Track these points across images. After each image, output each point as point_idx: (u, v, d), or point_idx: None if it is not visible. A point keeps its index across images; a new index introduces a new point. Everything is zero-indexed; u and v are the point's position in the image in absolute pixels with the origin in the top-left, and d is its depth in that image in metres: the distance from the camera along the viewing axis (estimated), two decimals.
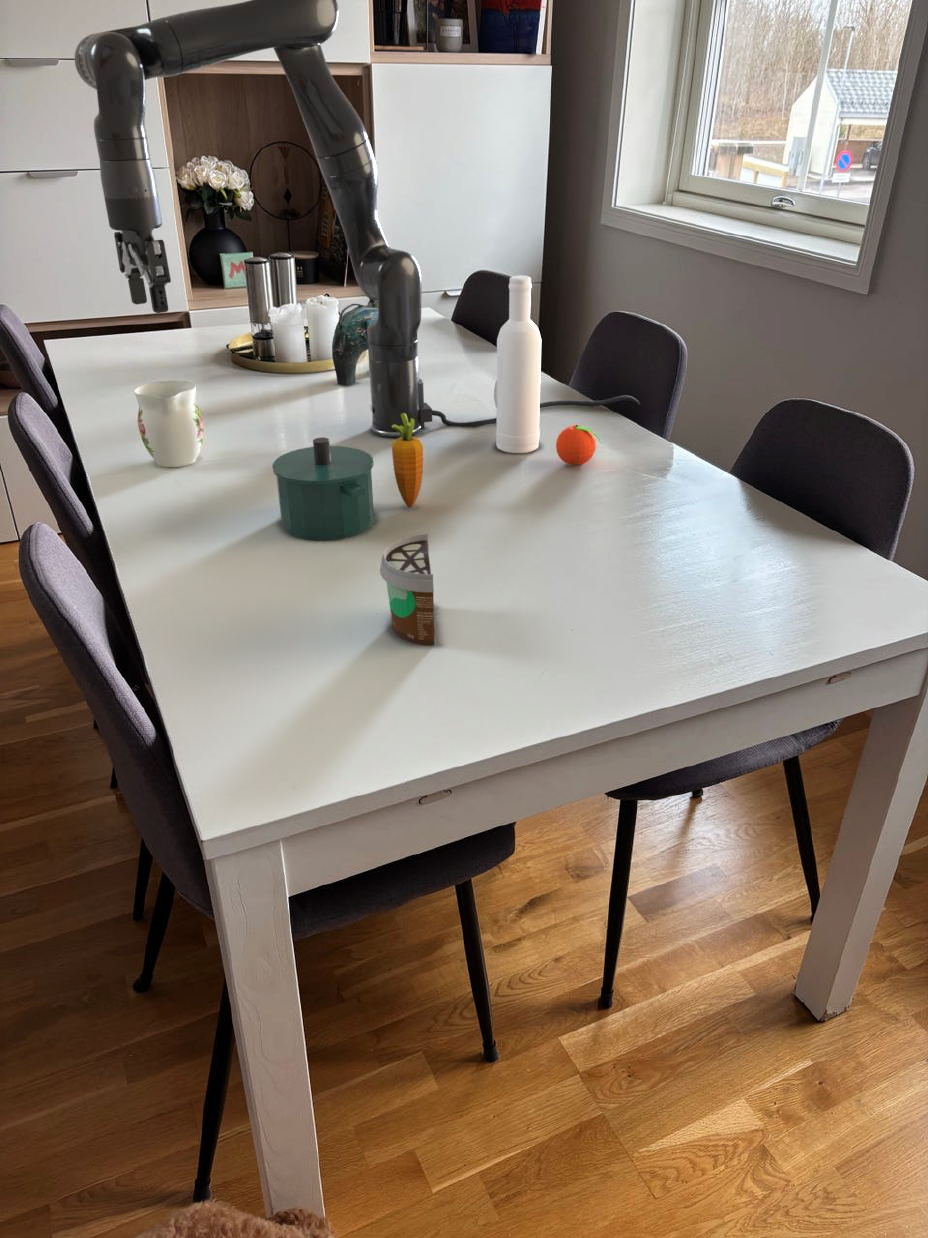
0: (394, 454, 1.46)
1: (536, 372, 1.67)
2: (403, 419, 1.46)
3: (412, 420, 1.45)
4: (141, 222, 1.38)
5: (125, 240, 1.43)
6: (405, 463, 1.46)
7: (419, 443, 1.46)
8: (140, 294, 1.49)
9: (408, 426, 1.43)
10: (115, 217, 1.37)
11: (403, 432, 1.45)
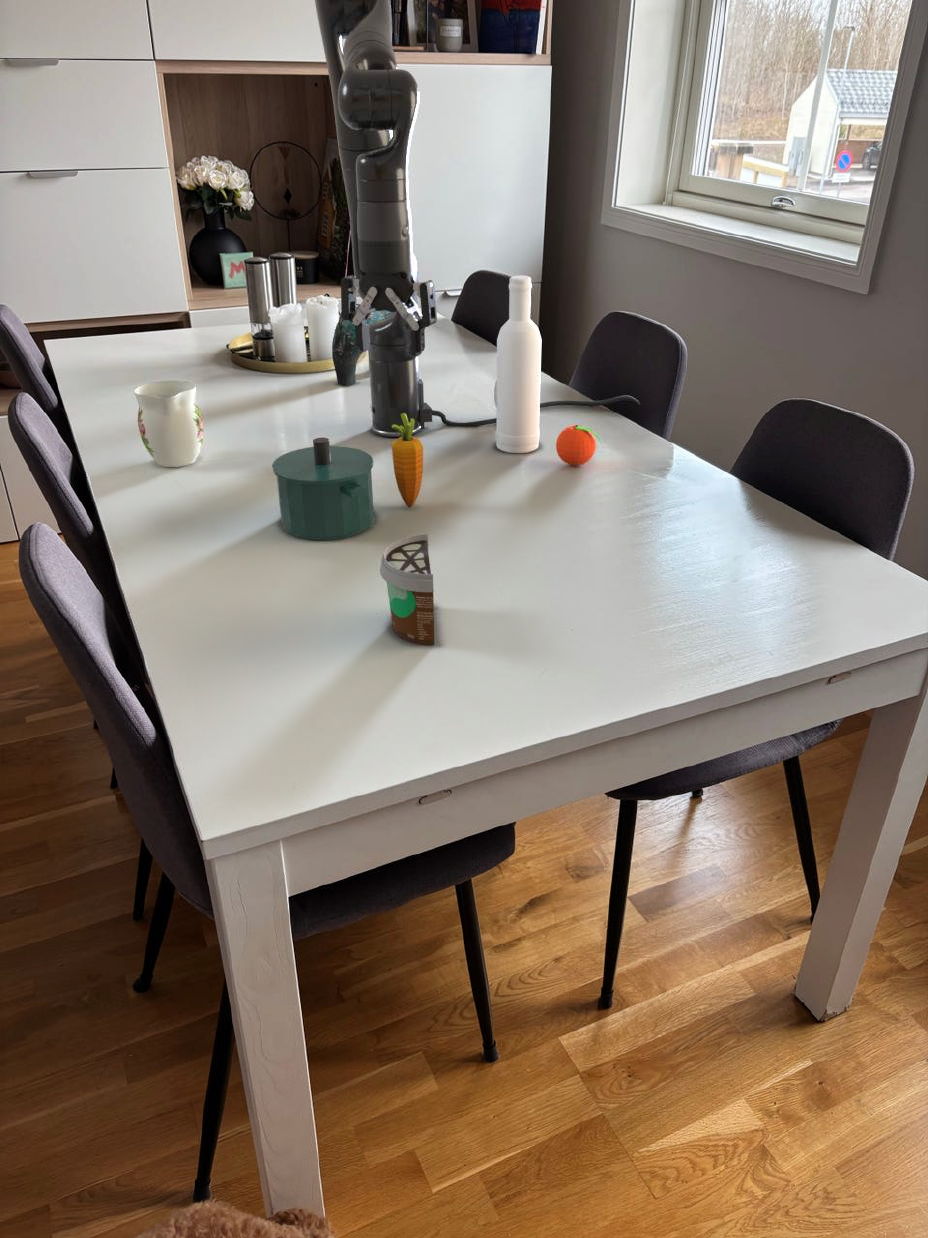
0: (394, 454, 1.46)
1: (536, 372, 1.67)
2: (403, 419, 1.46)
3: (412, 420, 1.45)
4: (408, 264, 1.32)
5: (367, 285, 1.35)
6: (405, 463, 1.46)
7: (419, 443, 1.46)
8: (367, 340, 1.41)
9: (408, 426, 1.43)
10: (385, 261, 1.30)
11: (403, 432, 1.45)
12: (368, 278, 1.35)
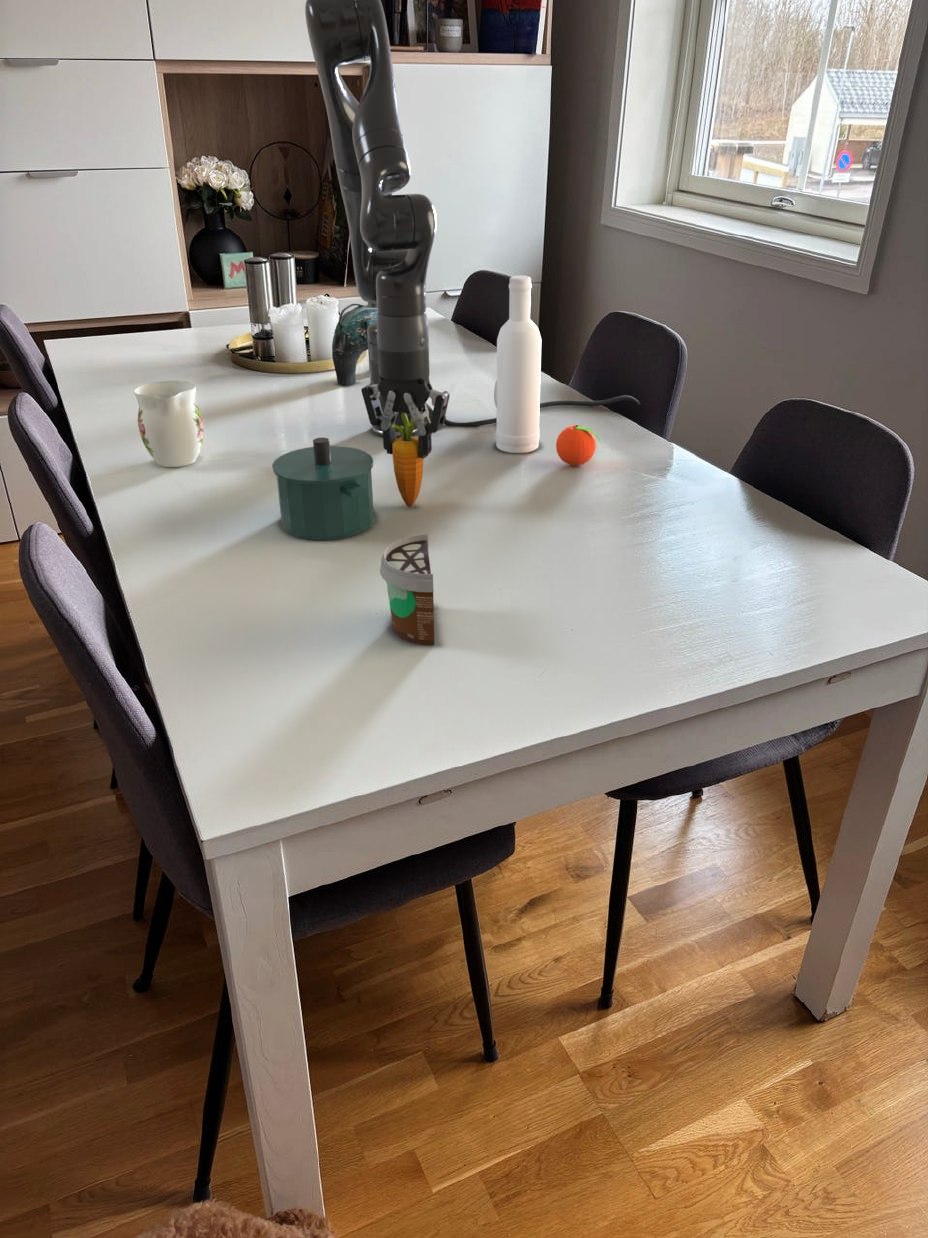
0: (394, 454, 1.46)
1: (536, 372, 1.67)
2: (403, 419, 1.46)
3: (412, 420, 1.45)
4: (425, 371, 1.39)
5: (386, 387, 1.42)
6: (405, 463, 1.46)
7: None
8: None
9: (408, 426, 1.43)
10: (404, 369, 1.37)
11: (403, 432, 1.45)
12: (385, 381, 1.42)
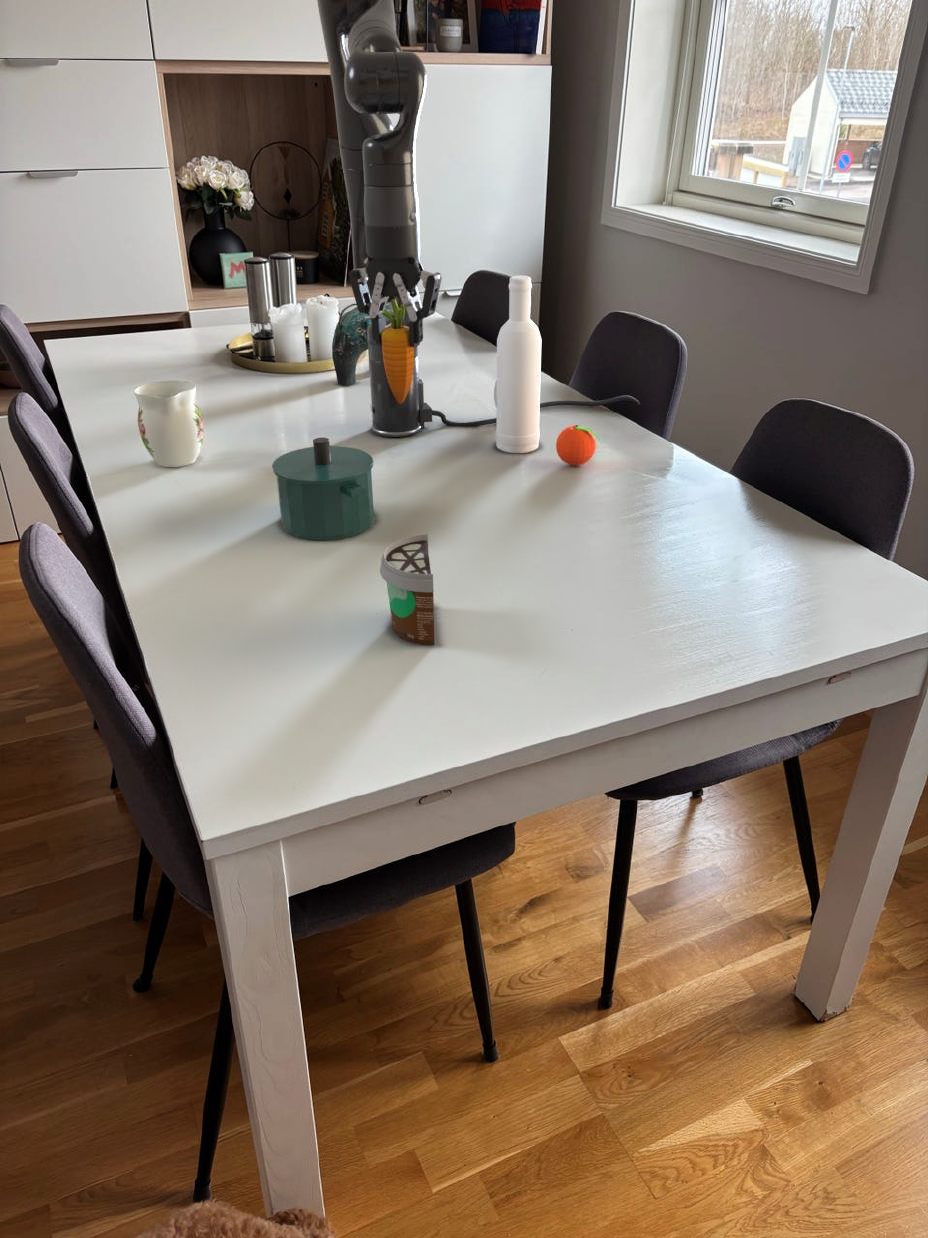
0: (384, 343, 1.38)
1: (536, 372, 1.67)
2: (393, 305, 1.38)
3: (402, 306, 1.37)
4: (416, 249, 1.31)
5: (374, 269, 1.34)
6: (395, 352, 1.38)
7: None
8: None
9: (398, 311, 1.35)
10: (393, 246, 1.29)
11: (393, 319, 1.37)
12: (373, 262, 1.34)
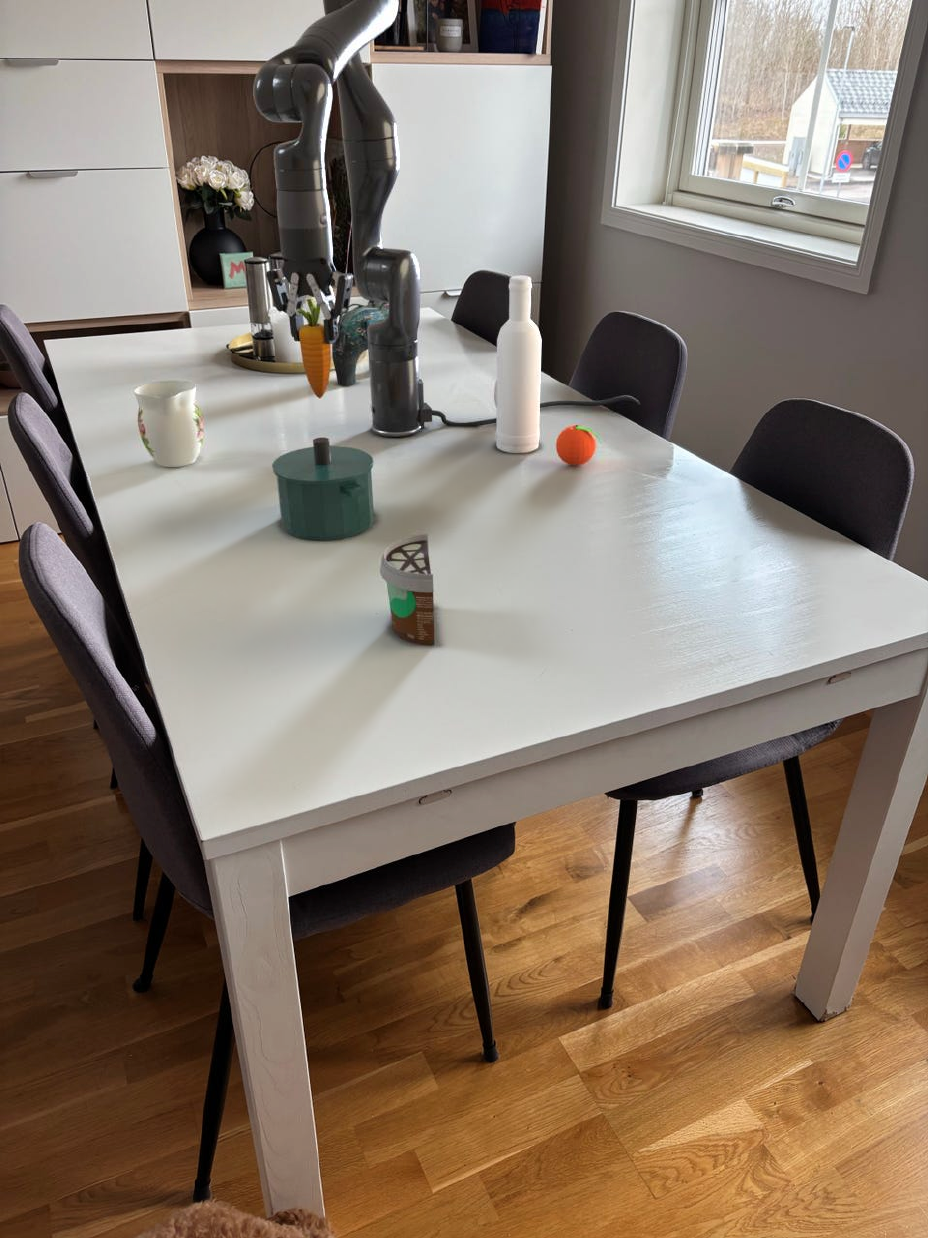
0: (300, 340, 1.45)
1: (536, 372, 1.67)
2: (309, 304, 1.44)
3: (318, 305, 1.44)
4: (327, 250, 1.38)
5: (289, 270, 1.41)
6: (311, 348, 1.45)
7: None
8: None
9: (313, 309, 1.42)
10: (304, 247, 1.36)
11: (309, 317, 1.44)
12: (288, 263, 1.41)
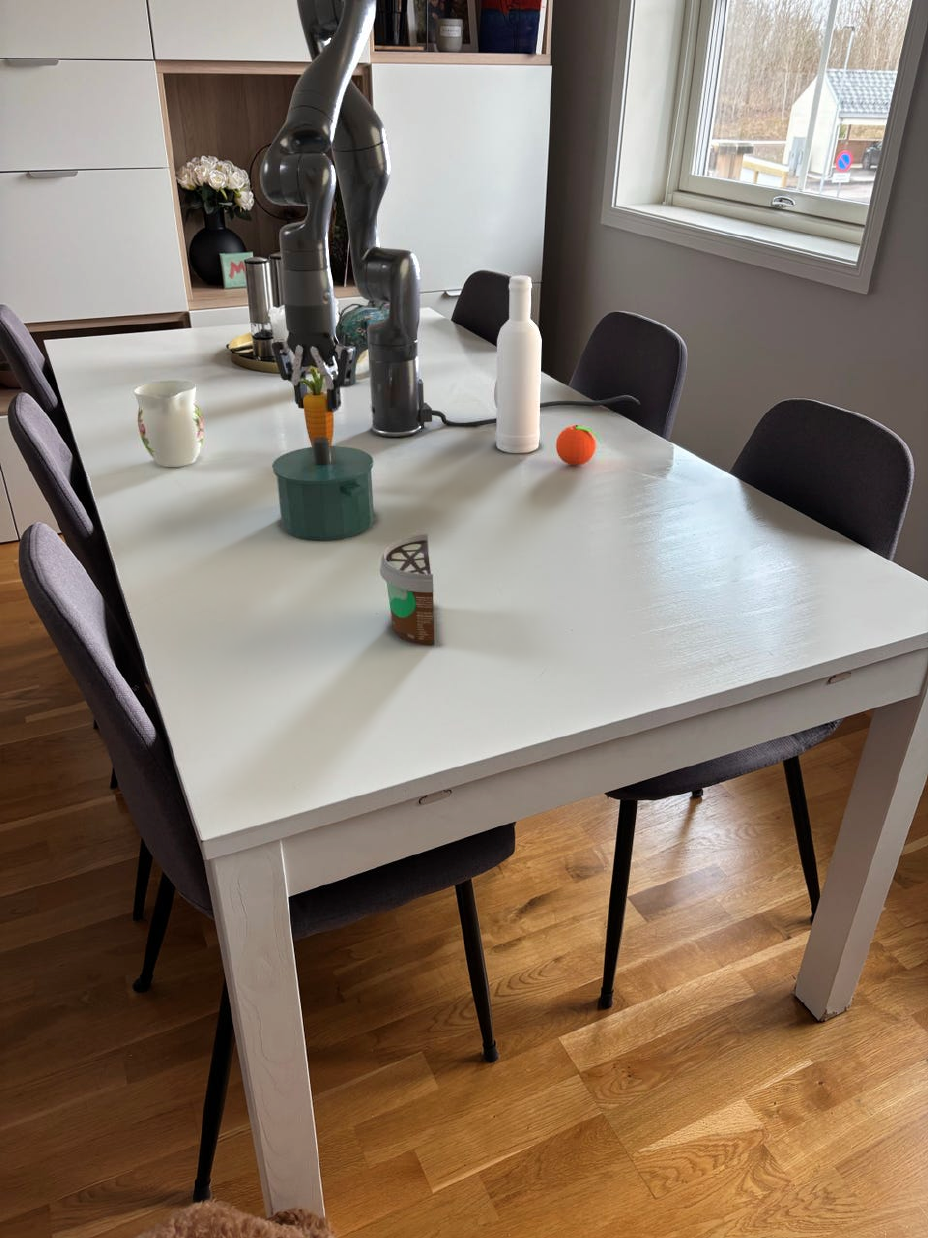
0: (304, 408, 1.50)
1: (536, 372, 1.67)
2: (313, 374, 1.50)
3: (321, 375, 1.49)
4: (330, 325, 1.44)
5: (294, 342, 1.47)
6: (315, 416, 1.50)
7: None
8: None
9: (316, 380, 1.47)
10: (308, 323, 1.42)
11: (312, 386, 1.49)
12: (293, 336, 1.46)
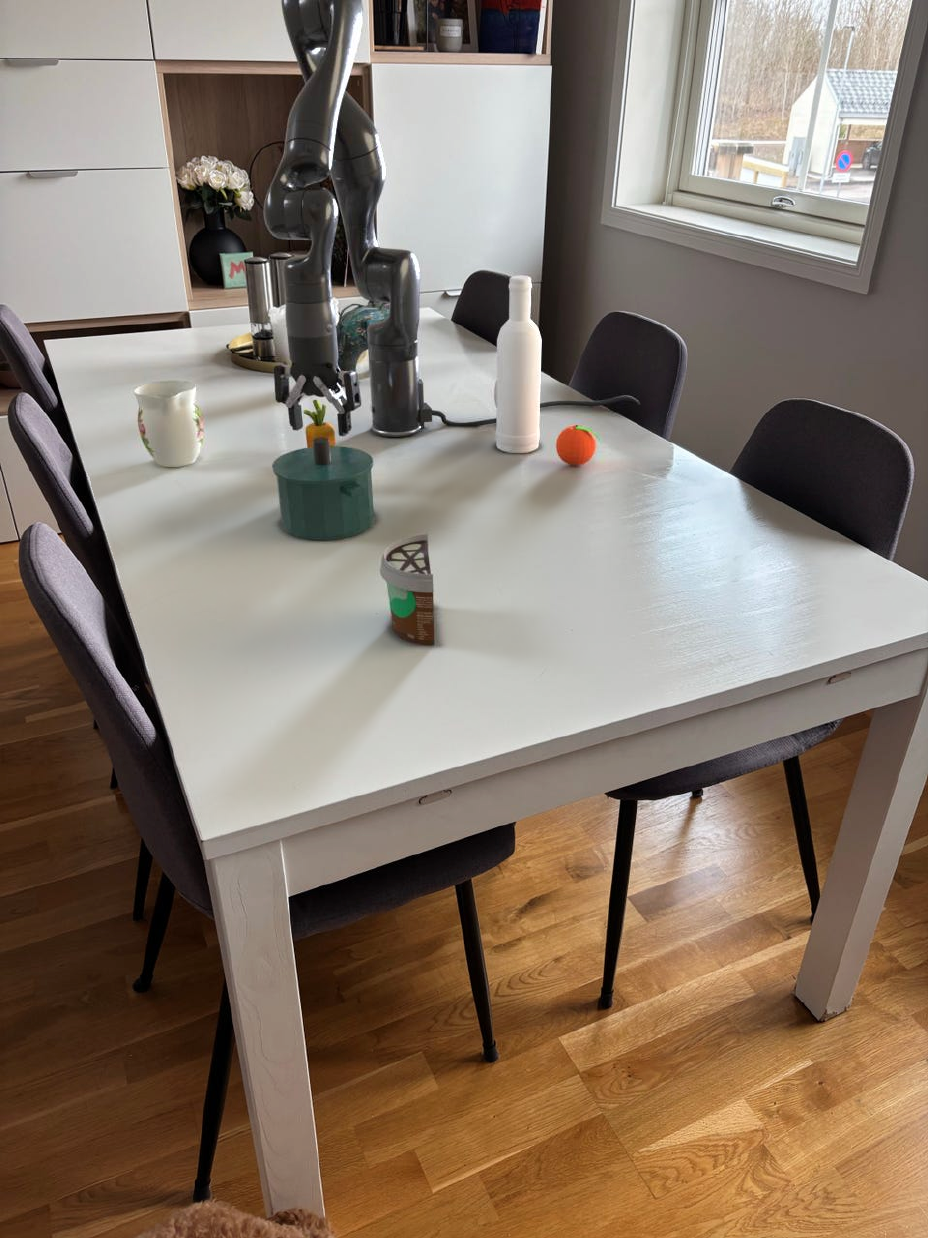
0: (307, 438, 1.53)
1: (536, 372, 1.67)
2: (315, 405, 1.52)
3: (323, 406, 1.52)
4: (333, 356, 1.46)
5: (297, 373, 1.49)
6: None
7: (331, 428, 1.53)
8: (299, 420, 1.54)
9: (318, 411, 1.50)
10: (311, 354, 1.44)
11: (315, 417, 1.52)
12: (298, 367, 1.48)
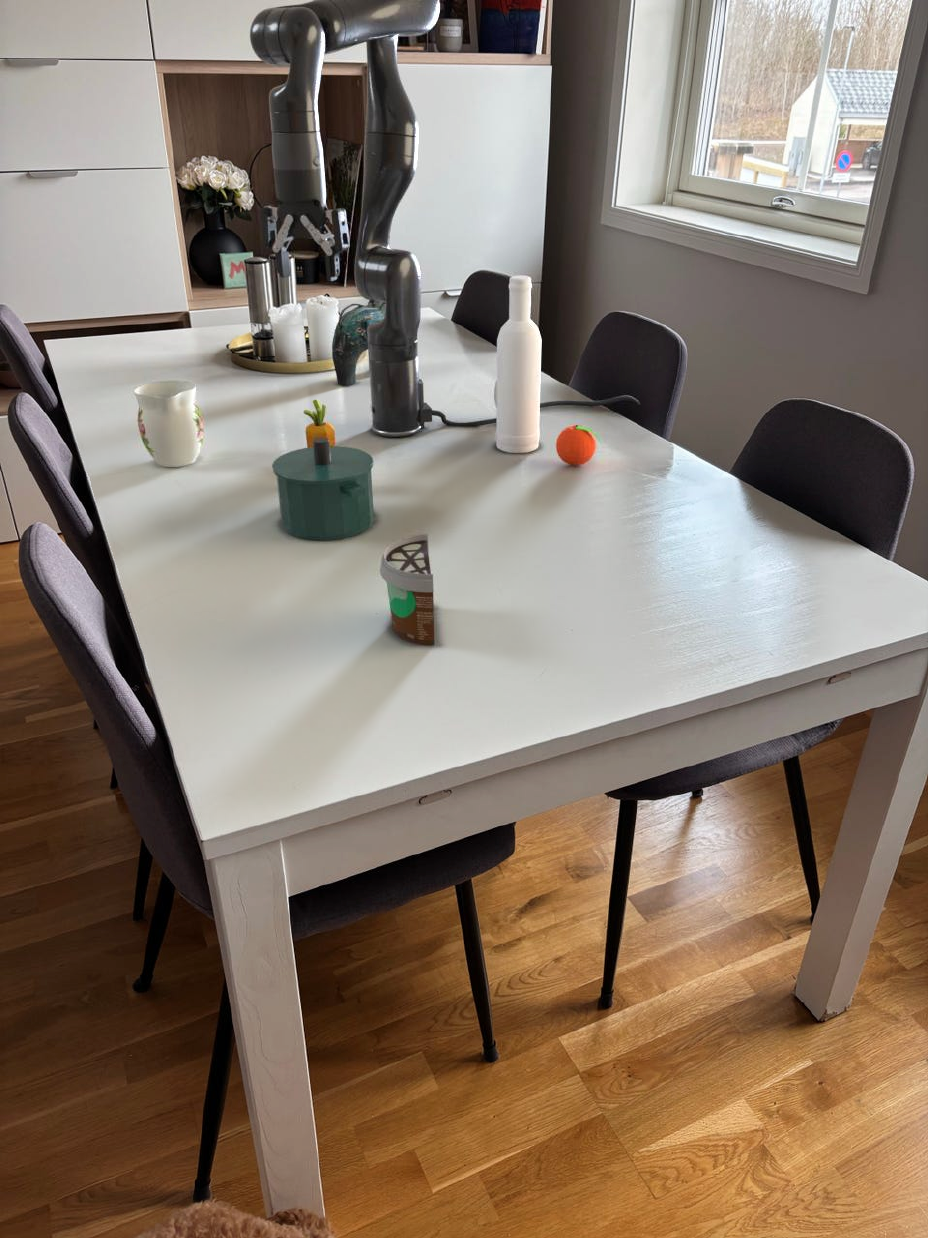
0: (307, 438, 1.53)
1: (536, 372, 1.67)
2: (315, 405, 1.52)
3: (323, 406, 1.52)
4: (320, 192, 1.43)
5: (284, 213, 1.46)
6: None
7: (331, 428, 1.53)
8: (287, 267, 1.52)
9: (318, 411, 1.50)
10: (298, 188, 1.41)
11: (315, 417, 1.52)
12: (285, 207, 1.45)
